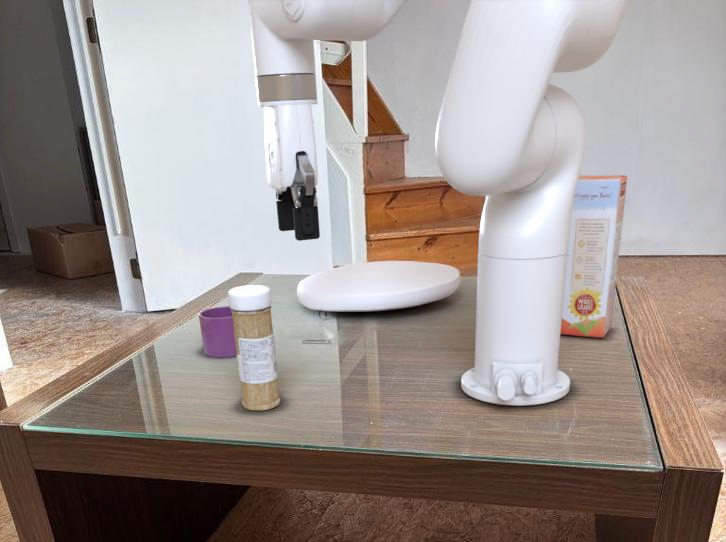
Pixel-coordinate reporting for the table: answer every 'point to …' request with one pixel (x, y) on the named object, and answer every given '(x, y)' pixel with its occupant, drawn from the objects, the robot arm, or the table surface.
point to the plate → (378, 286)
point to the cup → (218, 332)
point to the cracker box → (593, 255)
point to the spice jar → (255, 346)
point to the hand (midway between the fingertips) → (298, 234)
